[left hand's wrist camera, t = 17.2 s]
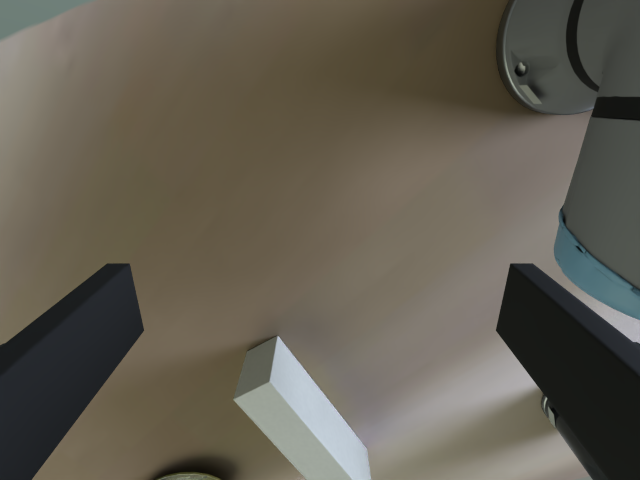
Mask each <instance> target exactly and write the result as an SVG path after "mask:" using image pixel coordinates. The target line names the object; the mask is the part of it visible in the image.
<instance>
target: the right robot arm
mask: <svg viewBox="0 0 640 480" xmlns="http://www.w3.org/2000/svg"><path fill="white" fill-rule="evenodd" d="M542 409H543V411H544V413H545V414H546V416H547V417H548V418H549V420H550V422H551V424H552V425H553V426H554V428H555V427H556V429H557V430H558V431H559V433H560V434H561V436H562V437H563V439H564V440H565V441H566V443H567V444H568V446H569V447H570V448H571V450H572V451H573V453H574V454H575V455H576V457H577V458H578V460H579V461H580V462H581V464H582V465H583V467H584V468H585V469H586V471H587V472H588V474H589V475H590V476H591V478H592V479H593V480H608V478H607V477H606V476H605V474H604V473H603V472H602V470H601V469H600V468H599V466H598V465H597V464H596V462H595V461H594V460H593V458H592V457H591V456H590V455H589V453H588V452H587V451H586V449H585V448H584V447H583V445H582V444H581V443H580V441H579V440H578V439H577V437H576V436H575V435H574V433H573V432H572V431H571V429H570V428H569V427H568V425H567V424H566V423H565V421H564V420H563V419H562V417H561V416H560V415H559V413H558V412H557V411H556V409H555V408H554V407H553V405H552V404H551V403H550V401H549V400H548V399H547V398H546V396H545V395H544V396H543V398H542Z"/></svg>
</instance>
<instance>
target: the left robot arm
mask: <svg viewBox="0 0 640 480" xmlns="http://www.w3.org/2000/svg"><path fill="white" fill-rule="evenodd" d="M496 57H497V65H498V70H499V73H500V76H501V79H502V81H503V83H504V85H505V87H506V89H507V90H508V91H509V93H510V94H511V95H512V96H513V98H514V99H515V100H517V101H518V102H519V103H520V104H522V105H523V106H525V107H527V108H529V109H531V110H533V111H536V112H540V113H545V114H556V115H571V114H578V113H583V112H586V111H589V110H592V109H593V112H592V115H591V116H592V117H590V120H589V124H588V127H587V131H586V134H585V137H584V141H583V144H582V148H581V151H580V154H579V158H578V161H577V164H576V167H575V171H574V174H573V177H572V180H571V183H570V187H569V190H568V193H567V196H566V199H565V203H564V205H563V206H562V208H561V209H560V212H559V228H558V232H557V236H556V240H555V244H554V256H555V259H556V261H557V263H558V265H559V266H560V268H561V269H562V272H563V273H564V274H565V275H566V276H567V277H568V279H569V280H570V281H572V282H573V283H574V284H575V285H576V286H578V287H579V288H580V289H581V290H583V291H584V292H586V293H587V294H589V295H590V296H592V297H593V298H595V299H597V300H598V301H600V302H602V303H604V304H606V305H608V306H609V307H611V308H613V309H615V310H617V311H620V312H622V313H624V314H626V315H628V316H631V317H633V318H636V319H638V320H640V0H509V2H508V4H507V6H506V9H505V11H504V13H503V16H502V19H501V22H500V26H499V30H498V35H497V44H496ZM143 331H144V328H143V323H142V319H141V314H140V309H139V305H138V300H137V296H136V291H135V286H134V282H133V277H132V272H131V268H130V264H106V265H105V266H104V267H102V268H101V269H100V270H99V271H97V272H96V273H95V274H93V275H92V276H91V277H90V278H88V279H87V280H86V281H84V282H83V283H82V284H81V285H79V286H78V287H77V288H76V289H74V290H73V291H72V292H70V293H69V294H68V295H67V296H65V297H64V298H63V299H61V300H60V301H59V302H58V303H56V304H55V305H54V306H53V307H51V308H50V309H49V310H47V311H46V312H45V313H44V314H42V315H41V316H40V317H38V318H37V319H36V320H35V321H33V322H32V323H31V324H30V325H28V326H27V327H26V328H24V329H23V330H22V331H21V332H19V333H18V334H17V335H15V336H14V337H13V338H12V339H10V340H9V341H8V342H7V343H5V344H2V345H0V480H32V478H33V477H34V476H35V474H36V473H37V472H38V470H39V469H40V468H41V466H42V465H43V464H44V462H45V461H46V460H47V458H48V457H49V456H50V455H51V453H52V452H53V451H54V449H55V448H56V447H57V445H58V444H59V443H60V441H61V440H62V439H63V437H64V436H65V435H66V433H67V432H68V431H69V429H70V428H71V427H72V425H73V424H74V423H75V421H76V420H77V419H78V417H79V416H80V415H81V413H82V412H83V411H84V409H85V408H86V407H87V405H88V404H89V403H90V401H91V400H92V399H93V398H94V396H95V395H96V394H97V392H98V391H99V390H100V388H101V387H102V386H103V384H104V383H105V382H106V380H107V379H108V378H109V376H110V375H111V374H112V372H113V371H114V370H115V368H116V367H117V366H118V364H119V363H120V362H121V360H122V359H123V358H124V356H125V355H126V354H127V352H128V351H129V350H130V348H131V347H132V346H133V344H134V343H135V342H136V340H137V339H138V338H139V337H140V335H141V334H142V333H143ZM496 331H497V333H498V334H499V335H500V337H501V338H502V339H503V340H504V342H505V343H506V344H507V346H508V347H509V348H510V350H511V351H512V352H513V354H514V355H515V356H516V358H517V359H518V360H519V362H520V363H521V364H522V366H523V367H524V368H525V370H526V371H527V372H528V374H529V375H530V376H531V378H532V379H533V380H534V382H535V383H536V384H537V386H538V387H539V388H540V390H541V391H542V392H543V394H544V395H545V396H546V398H547V399H548V400H549V401H550V403H551V404H552V405H553V407H554V408H555V409H556V411H557V412H558V413H559V415H560V416H561V417H562V419H563V420H564V421H565V423H566V424H567V425H568V427H569V428H570V429H571V431H572V432H573V433H574V435H575V436H576V437H577V439H578V440H579V441H580V443H581V444H582V445H583V447H584V448H585V449H586V451H587V452H588V453H589V455H590V456H591V457H592V458H593V460H594V461H595V462H596V464H597V465H598V466H599V468H600V469H601V470H602V472H603V473H604V474H605V476H606V477H607V478H608V480H640V344H639V343H637V342H632V341H631V340H630V339H628V338H627V337H626V336H625V335H623V334H622V333H621V332H619V331H618V330H617V329H616V328H614V327H613V326H612V325H610V324H609V323H608V322H607V321H605V320H604V319H603V318H602V317H600V316H599V315H598V314H596V313H595V312H594V311H593V310H591V309H590V308H589V307H587V306H586V305H585V304H584V303H582V302H581V301H580V300H579V299H577V298H576V297H575V296H573V295H572V294H571V293H570V292H568V291H567V290H566V289H564V288H563V287H562V286H561V285H559V284H558V283H557V282H556V281H554V280H553V279H552V278H550V277H549V276H548V275H547V274H545V273H544V272H543V271H541V270H540V269H539V268H538V267H536V266H535V265H534V264H510V268H509V272H508V277H507V282H506V286H505V291H504V296H503V300H502V305H501V309H500V314H499V319H498V323H497V328H496Z"/></svg>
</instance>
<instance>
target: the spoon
mask: <svg viewBox="0 0 640 480" xmlns="http://www.w3.org/2000/svg"><path fill="white" fill-rule="evenodd" d="M155 480H221V479H220V478H217V477H215V476H212V475H209V474H204V473H197V472H180V473H175V474H169V475H165V476H163V477H160V478H158V479H155Z"/></svg>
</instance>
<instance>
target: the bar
mask: <svg viewBox="0 0 640 480" xmlns="http://www.w3.org/2000/svg"><path fill="white" fill-rule="evenodd" d="M233 400H234V401H235V402H236V403H237V404H238V405H239V406H240V408H241V409H242V410H243V411H244V412H245V413H246V414H247V415H248V416H249V417H250V418H251V420H252V421H253V422H254V423H255V424H256V425H257V426H258V427H259V428H260V429H261V431H262V432H263V433H264V434H265V435H266V436H267V437H268V438H269V439H270V440H271V441H272V443H273V444H274V445H275V446H276V447H277V448H278V449H279V450H280V451H281V452H282V454H283V455H284V456H285V457H286V458H287V459H288V460H289V461H290V462H291V463H292V464H293V466H294V467H295V468H296V469H297V470H298V471H299V472H300V473H301V474H302V475H303V476H304V478H305V479H306V480H371V476H370V468H369V461H368V453H367V448H366V447H365V446H364V445H363V443H362V442H361V441H360V439H359V438H358V437H357V436H356V434H355V433H354V432H353V431H352V429H351V428H350V427H349V426H348V424H347V423H346V422H345V420H344V419H343V418H342V417H341V415H340V414H339V413H338V412H337V410H336V409H335V408H334V406H333V405H332V404H331V403H330V401H329V400H328V399H327V398H326V396H325V395H324V394H323V392H322V391H321V390H320V389H319V387H318V386H317V385H316V384H315V382H314V381H313V380H312V378H311V377H310V376H309V375H308V373H307V372H306V371H305V370H304V368H303V367H302V366H301V364H300V363H299V362H298V361H297V359H296V358H295V357H294V356H293V354H292V353H291V352H290V350H289V349H288V348H287V347H286V345H285V344H284V343H283V342H282V340H281V339H280V338H279V336H276V337H274V338H272V339H270V340H268V341H266V342H264V343H262V344H260V345H259V346H257V347H255V348H253V349H251V350H249V351H247V353H246V357H245V360H244V364H243V367H242V371H241V374H240V378H239V381H238V385H237V388H236V392H235V395H234V399H233Z"/></svg>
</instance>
